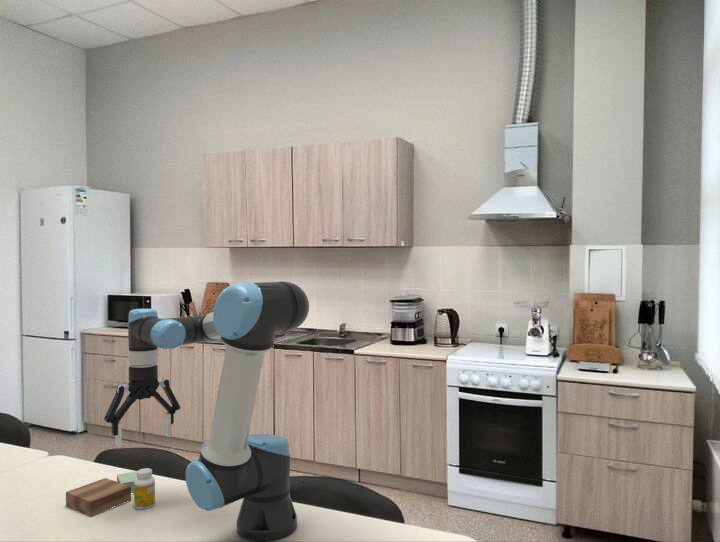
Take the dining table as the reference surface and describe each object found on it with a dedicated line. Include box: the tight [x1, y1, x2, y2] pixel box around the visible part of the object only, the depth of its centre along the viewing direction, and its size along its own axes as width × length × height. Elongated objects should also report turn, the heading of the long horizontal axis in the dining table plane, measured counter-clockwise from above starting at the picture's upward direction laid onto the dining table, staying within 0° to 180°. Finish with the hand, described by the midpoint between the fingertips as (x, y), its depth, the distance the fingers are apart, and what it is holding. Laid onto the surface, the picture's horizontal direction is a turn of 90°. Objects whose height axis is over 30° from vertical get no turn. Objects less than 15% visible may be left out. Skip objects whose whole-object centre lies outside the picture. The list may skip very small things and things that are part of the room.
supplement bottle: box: [133, 467, 156, 510], centre depth 157 cm, size 5×5×10 cm
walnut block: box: [65, 477, 132, 518], centre depth 158 cm, size 12×12×4 cm
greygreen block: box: [116, 470, 138, 493], centre depth 169 cm, size 8×8×4 cm
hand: (143, 441), depth 157 cm, fingers open, 13 cm apart
